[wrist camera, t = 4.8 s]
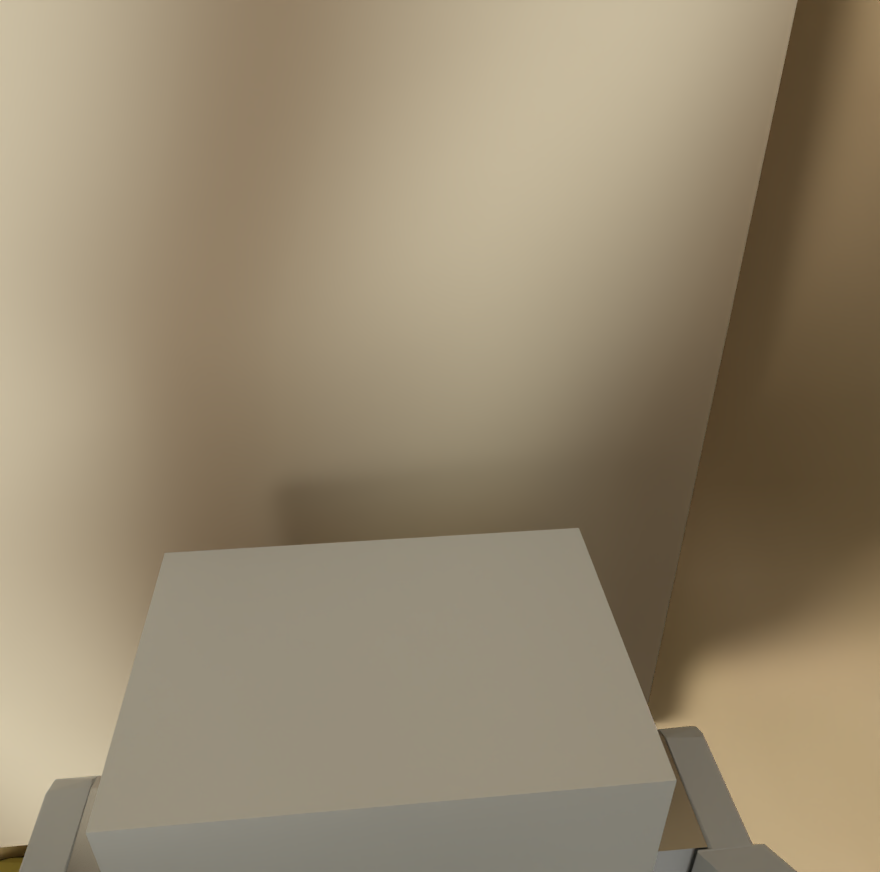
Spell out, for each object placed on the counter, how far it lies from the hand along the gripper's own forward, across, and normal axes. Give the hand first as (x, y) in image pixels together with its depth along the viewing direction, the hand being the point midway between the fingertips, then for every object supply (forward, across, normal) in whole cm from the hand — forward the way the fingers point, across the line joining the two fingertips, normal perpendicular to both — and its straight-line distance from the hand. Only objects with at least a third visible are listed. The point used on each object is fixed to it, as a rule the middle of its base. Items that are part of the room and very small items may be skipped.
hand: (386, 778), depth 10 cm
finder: (+1, 0, 0) cm, 1 cm away
